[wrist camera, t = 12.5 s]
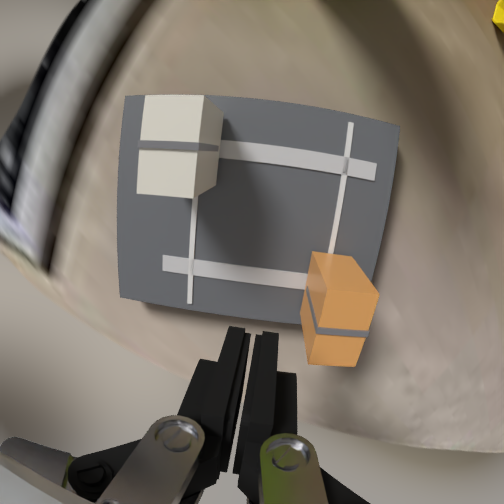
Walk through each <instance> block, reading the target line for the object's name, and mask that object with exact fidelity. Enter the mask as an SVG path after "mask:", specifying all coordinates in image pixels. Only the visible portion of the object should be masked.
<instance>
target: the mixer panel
mask: <svg viewBox="0 0 504 504" xmlns="http://www.w3.org/2000/svg"><path fill="white" fill-rule="evenodd" d="M204 96H205V97H207V98H208V99H209V100H210V101H211V102H212V103H213V104H215V105H216V106H217V107H218V108H219V109H220V110H221V111H223V112H224V117H223V125H222V133H221V142H220V151H219V161H218V170H217V180H216V186H214V187H212V188H210V189H209V190H207V191H205V192H204V193H202V194H200V195H199V196H197V197H195V198H182V197H172V196H160V195H149V194H137V176H138V160H139V148H137V146H138V140H140V137H141V127H142V118H143V109H144V102H145V95H134V96H125V103H124V110H123V119H122V128H121V139H120V151H119V166H118V188H117V252H118V274H119V289H120V297H122V298H127V299H132V300H137V301H142V302H147V303H153V304H158V305H164V306H170V307H175V308H181V309H187V310H194V311H200V312H206V313H213V314H220V315H227V316H234V317H241V318H249V319H257V320H265V321H274V322H282V323H292V324H301V325H302V323H301V317H300V310H301V305H302V300H303V296H304V291H305V286H306V281H307V276H308V271H309V265H310V260H311V255H312V251H315V252H322V253H330V254H337V255H345V256H352V257H353V259H354V260H355V261H356V263H357V264H358V265H359V267H360V268H361V269H362V271H363V272H364V273H365V275H366V276H367V278H368V279H369V280H370V282H371V280H372V277H373V273H374V269H375V265H376V261H377V257H378V253H379V249H380V244H381V240H382V235H383V231H384V226H385V221H386V216H387V211H388V206H389V201H390V195H391V189H392V184H393V177H394V171H395V164H396V157H397V149H398V141H399V133H400V126H397V125H394V124H390V123H387V122H383V121H379V120H375V119H371V118H367V117H363V116H358V115H354V114H349V113H345V112H340V111H335V110H330V109H324V108H319V107H313V106H307V105H301V104H294V103H287V102H280V101H272V100H263V99H253V98H242V97H229V96H212V95H204Z"/></svg>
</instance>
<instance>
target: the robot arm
mask: <svg viewBox="0 0 504 504" xmlns="http://www.w3.org/2000/svg"><path fill="white" fill-rule="evenodd" d="M250 337H251V334H250V333H245V328H239V327H233V326H229V328H228V331H227V334H226V337H225V341H224V344H223V347H222V350H221V353H220V356H219V359H218V362H215V361H210V360H204V359H200V360H199V362H198V364H197V367H196V369H195V372H194V374H193V377H192V379H191V382H190V384H189V387H188V389H187V392H186V394H185V397H184V399H183V402H182V404H181V407H180V409H179V412H178V414H177V415H175V416H174V415H171V416H167V417H163V418H161V419H159V420H157V421H156V422H155V423H154V424H153V425H152V426H151V427H150V428H149V430H148V431H147V433H146V434H145V436H144V437H143V438H142V439H140V440H137V441H134V442H130V443H127V444H124V445H120V446H117V447H114V448H110V449H106V450H103V451H99V452H95V453H91V454H87V455H83V456H81V457H73V456H72V455H71V454H70V453H68V452H64V451H61V450H57V449H53V448H50V447H47V446H44V445H40V444H37V443H34V442H31V441H28V440H26V439H23V438H18V437H11V438H8V439H6V440H5V441H3V443H2V444H1V446H0V504H198V503H199V501H200V499H201V497H202V494H203V492H204V489H205V488H207V487H210V486H211V485H214V484H216V481H217V479H219V475H220V471H221V472H227V469H228V464H229V459H230V454H231V450H232V444H233V439H234V434H235V429H236V424H237V419H238V414H239V409H240V403H241V398H242V393H243V386H244V379H245V372H246V365H247V358H248V351H249V344H250ZM278 340H279V333H272V332H265V331H263V333H262V335H257V334H256V337H255V343H254V349H253V355H252V360H251V366H250V372H249V378H248V383H247V389H246V395H245V400H244V406H243V412H242V417H241V423H240V430H239V436H238V442H237V449H236V454H235V461H234V467H233V474H239V479H238V488H239V489H240V490H241V491H242V492H243V493H244V494H245V495H246V496H247V504H370V503H369V502H367V501H366V500H364V499H363V498H361V497H360V496H358V495H357V494H355V493H354V492H353V491H351V490H350V489H348V488H347V487H346V486H344V485H343V484H341V483H340V482H339V481H338V480H336V479H335V478H333V477H332V476H331V475H329V474H328V473H327V472H326V471H324V470H323V469H322V468H320V466H319V462H318V458H317V454H316V451H315V449H314V447H313V445H312V444H311V443H310V442H309V441H308V440H306V439H305V438H303V437H302V436H298V435H297V377H296V373H288V372H280V371H277V359H278Z"/></svg>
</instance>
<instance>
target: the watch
mask: <svg viewBox="0 0 504 504" xmlns="http://www.w3.org/2000/svg"><path fill="white" fill-rule="evenodd" d="M492 21H493V22H494V23H495V24H496V25H497V26H498V27H499V28H500V30H501V31H502V32H503V33H504V0H499V1H498V2H497V4H496V8H495V12H494V15H493V19H492Z"/></svg>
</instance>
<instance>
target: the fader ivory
mask: <svg viewBox="0 0 504 504" xmlns="http://www.w3.org/2000/svg"><path fill="white" fill-rule="evenodd" d="M223 117H224V112H223V111H221V110H220V109H219V108H218V107H217V106H216V105H215V104H213V103H212V102H211V101H210V100H209V99H208V98H207V97H205V96H204V95H145V102H144V109H143V118H142V127H141V137H140V140H138V146H137V148H139V160H138V176H137V194H149V195H160V196H172V197H182V198H195V197H197V196H199V195H200V194H202V193H204V192H205V191H207V190H209V189H210V188H212V187H214V186H216V180H217V170H218V161H219V151H220V142H221V133H222V125H223Z"/></svg>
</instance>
